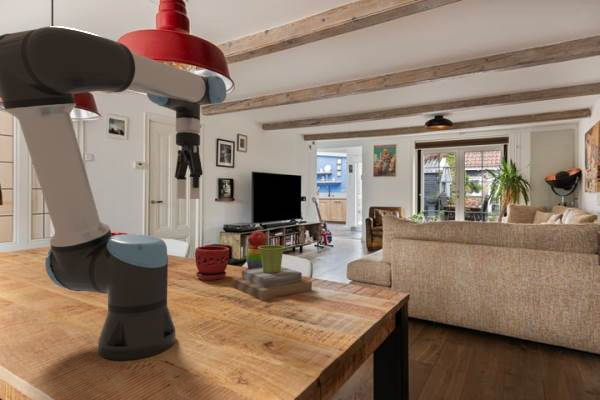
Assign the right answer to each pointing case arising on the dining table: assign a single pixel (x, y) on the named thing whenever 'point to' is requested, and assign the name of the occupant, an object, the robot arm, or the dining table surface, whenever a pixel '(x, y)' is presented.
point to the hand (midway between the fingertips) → (187, 198)
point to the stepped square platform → (271, 283)
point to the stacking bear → (255, 250)
